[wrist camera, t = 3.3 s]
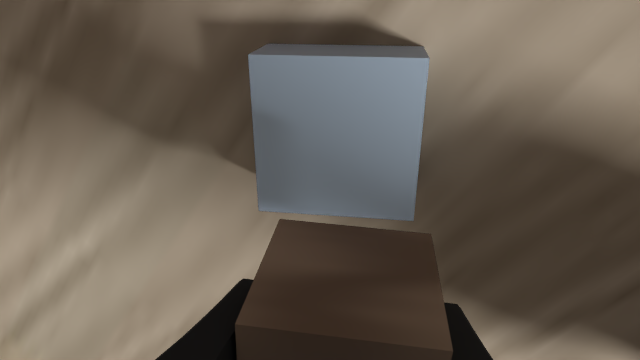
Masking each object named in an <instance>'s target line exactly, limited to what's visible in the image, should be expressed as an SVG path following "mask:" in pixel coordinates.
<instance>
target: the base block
mask: <svg viewBox="0 0 640 360" xmlns="http://www.w3.org/2000/svg"><path fill="white" fill-rule="evenodd" d="M248 61H249V75H250V90H251V105H252V120H253V134H254V149H255V164H256V179H257V193H258V208H259V211H269V212H284V213H299V214H315V215H330V216H345V217H360V218H376V219H391V220H406V221H414V210H415V200H416V190H417V180H418V170H419V159H420V149H421V139H422V129H423V119H424V109H425V98H426V88H427V78H428V68H429V56H428V54H427V52H426V51H425V49H424V47H423V46H379V45H319V44H266V45H264V46H263V47H261V48H259V49H257V50H255V51H254V52H252V53H250V54H248Z"/></svg>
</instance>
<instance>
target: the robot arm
mask: <svg viewBox="0 0 640 360" xmlns="http://www.w3.org/2000/svg"><path fill="white" fill-rule="evenodd" d="M253 281H254V280H250V279H242V280H241V281H239V282H238V283H237V284H236V285H235V286H234V287H233V288H232V289H231V291H230V292H229V293H228V294H227V295H226V296H225V297H224V298H223V299H222V300H221V301H220V302H219V303H218V304H217V305H216V306H215V307H214V308H213V309H212V310H211V311H210V312H209V313H208V314H206V315H205V316H204V317H203V318H202V319H201V320H200V321H199V322H198V323H197V324H196V325H195V326H194V327H193V328H191V329H190V330H189V331H188V332H187V333H186V334H185V335H184V336H183V337H182V338H180V339H179V340H178V341H177V342H176V343H175V344H173V345H172V346H171V347H170V348H169V349H167V350H166V351H165V352H164V353H163V354H161V355H160V356H159V357H158V358H157V359H156V360H237V353H236V335H235V323H236V320H237V318H238V316H239V313H240V311H241V309H242V306H243V304H244V302H245V299H246V297H247V295H248V292H249V290H250V288H251V285H252V283H253ZM444 305H445V311H446V316H447V322H448V327H449V332H450V338H451V343H452V348H453V354H452V358H451V360H493V359H492V357H491V356H490V354H489V353H488V351H487V350H486V348H485V347H484V345H483V344H482V342H481V340H480V339H479V337H478V336H477V334H476V333H475V331H474V329H473V328H472V326H471V324H470V323H469V321H468V320H467V318H466V316H465V315H464V313H463V311H462V309H461V308H460V307H459V306H458V304H452V303H444Z"/></svg>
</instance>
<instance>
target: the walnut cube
mask: <svg viewBox="0 0 640 360" xmlns="http://www.w3.org/2000/svg"><path fill="white" fill-rule="evenodd" d="M235 335H236V353H237V360H451V358H452V354H453V348H452V343H451V338H450V332H449V327H448V322H447V316H446V311H445V305H444V300H443V295H442V289H441V284H440V279H439V273H438V268H437V263H436V257H435V252H434V247H433V241H432V236H431V234H426V233H416V232H406V231H396V230H386V229H375V228H365V227H355V226H345V225H335V224H325V223H315V222H305V221H295V220H285V219H280V220H279V222H278V224H277V227H276V229H275V231H274V234H273V236H272V238H271V241H270V243H269V245H268V248H267V250H266V253H265V255H264V257H263V260H262V262H261V264H260V267H259V269H258V271H257V274H256V276H255V278H254V281H253V283H252V285H251V288H250V290H249V292H248V295H247V297H246V299H245V302H244V304H243V306H242V309H241V311H240V313H239V316H238V318H237V320H236V323H235Z"/></svg>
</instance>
